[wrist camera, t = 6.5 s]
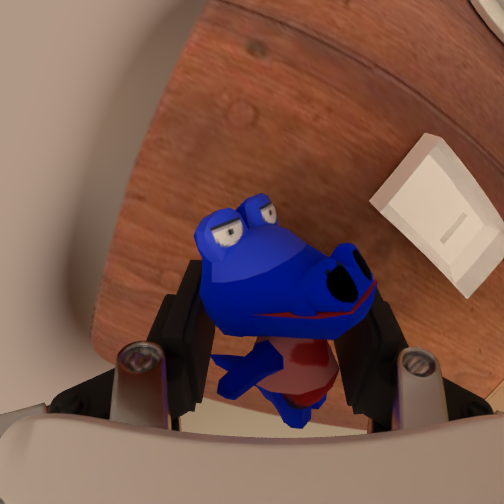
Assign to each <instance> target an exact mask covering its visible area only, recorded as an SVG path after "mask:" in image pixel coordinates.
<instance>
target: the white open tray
mask: <svg viewBox="0 0 504 504" xmlns="http://www.w3.org/2000/svg"><path fill="white" fill-rule="evenodd" d="M369 202H370V203H371V204H372V205H373V206H374V207H375V208H376V209H377V210H378V211H379V212H380V213H381V214H382V215H383V216H384V217H385V218H386V219H387V220H389V221H390V222H391V223H392V224H393V225H394V226H395V227H396V228H397V229H398V230H399V231H400V232H401V233H403V234H404V235H405V236H406V237H407V238H408V239H409V240H410V241H411V242H412V243H413V244H414V245H415V246H416V247H417V248H418V249H419V250H420V251H421V252H422V253H423V254H424V255H425V256H426V257H427V258H428V259H429V260H430V261H431V262H432V263H433V264H434V265H435V266H436V267H437V268H438V269H439V270H440V271H441V272H442V273H443V274H444V275H445V276H446V277H447V278H448V279H449V280H450V281H451V283H452V284H453V285H454V286H455V287H456V288H457V289H458V290H459V291H460V292H461V293H462V294H463V295H464V297H465V298H466V299H468V298H469V297H470V296H471V295H472V294H473V293H474V292H475V291H476V289H477V288H478V287H479V286H480V285H481V284H482V283H483V282H484V280H485V279H486V278H487V277H488V276H489V275H490V274H491V272H492V271H493V270H494V269H495V268H496V267H497V265H498V264H499V263H500V262H501V260H502V259H503V258H504V221H503V220H502V218H501V217H500V215H499V214H498V212H497V210H496V209H495V207H494V206H493V204H492V203H491V201H490V200H489V198H488V197H487V196H486V194H485V193H484V191H483V190H482V188H481V187H480V186H479V184H478V183H477V181H476V180H475V179H474V177H473V176H472V175H471V173H470V172H469V171H468V169H467V168H466V167H465V166H464V164H463V163H462V162H461V160H460V159H459V158H458V157H457V155H456V154H455V153H454V152H453V150H452V149H451V148H450V147H449V146H448V144H447V143H446V142H445V141H444V140H443V139H442V137H439V136H435V135H432V134H428V133H424V134H423V135H422V137H421V138H420V139H419V141H418V142H417V143H416V144H415V146H414V147H413V148H412V149H411V151H410V152H409V153H408V154H407V156H406V157H405V158H404V159H403V160H402V162H401V163H400V164H399V165H398V167H397V168H396V169H395V170H394V171H393V173H392V174H391V175H390V176H389V178H388V179H387V180H386V181H385V182H384V184H383V185H382V186H381V187H380V188H379V190H378V191H377V192H376V193H375V194H374V195H373V197H372V198H371V199H370V200H369Z"/></svg>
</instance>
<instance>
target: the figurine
mask: <svg viewBox="0 0 504 504" xmlns="http://www.w3.org/2000/svg"><path fill="white" fill-rule="evenodd" d="M194 239H195V242H196V245H197V248H198V251H199V253H200V254H201V256H202V277H201V284H200V291H199V295H200V298H201V300H202V303H203V305H204V308H205V311H206V313H207V315H208V316H209V318H210V319H211V320H212V321H213V322H214V323H215V324H216V326H217V327H218V328H219V329H220V330H221V331H222V332H223V334H224V335H230V336H237V337H244V336H258V337H257V340H256V343H255V345H254V348H253V350H252V351H251V352H250V353H248V354H247V355H246V356H245V357H243V356H234V355H216V354H211V355H210V356H211V358H212V359H213V361H214V362H215V364H216V365H218V366H219V367H221V368H223V369H225V370H226V371H228V372H227V373H226V374H225V375H224V376H223V377H222V378H221V379H220V380H219V383H218V389H217V393H218V394H219V395H221V396H223V397H224V398H226V399H231V400H235V399H237V398H238V397H240V396H241V395H242V394H244V393H245V392H246V391H247V390H249V389H250V388H251V387H253V386H256V387H257V388H258V389H259V390H260V391H261V393H262V394H263V395H264V397H265V398H266V399H268V400H269V401H271V402H272V403H273V404H274V406H275V407H276V409H277V410H278V412H279V414H280V416H281V418H282V420H283V422H284V423H286V424H287V425H288V426H290V427H291V428H299V429H302V428H303V427H304V426H305V425H306V424H307V423H308V421H309V420H310V419H311V408H312V409H319V408H320V407H321V405H322V404H323V403H324V402H325V400H326V396H327V392H328V391H329V390H330V389H331V388H332V386H333V384H334V382H335V380H336V377H337V375H338V371H339V366H338V364H337V362H336V360H335V357H334V355H333V353H332V350H331V348H330V346H329V344H328V341H327V340H335V339H336V338H338V337H339V336H340V335H342V334H343V333H345V332H346V331H347V330H349V329H350V328H352V327H353V326H354V325H356V324H357V323H358V322H360V321H361V320H362V319H364V318H365V317H366V315H367V313H368V311H369V309H370V307H371V305H372V303H373V300H374V296H375V291H376V286H377V281H375V280H373V275H372V273H371V271H370V269H369V267H368V265H367V263H366V262H365V260H364V258H363V256H362V255H361V253H360V252H359V250H358V249H357V247H356V246H355V244H350V243H343V244H339V245H338V246H337V247H336V248H335V249H334V251H333V252H332V254H331V256H330V257H328V256H326V255H325V254H323V253H321V252H320V251H318V250H316V249H315V248H313V247H311V246H310V245H308V244H307V243H305V242H304V241H303V240H301V239H300V238H299V237H297V236H296V235H295V234H293V233H292V232H291V231H289V230H288V229H287V228H283V227H280V226H279V223H278V219H277V214H276V209H275V207H274V206H273V204H272V202H271V201H270V199H269V197H268V196H267V195H265V194H262V193H260V194H257V195H254V196H252V197H249V198H247V199H246V200H245V201H244V202H243V203H242V204H241V205H240V206H239V207H238V208H237V209H236V210H233V209H231V208H227V209H221V210H218V211H215V212H213V213H212V214H210V215H208V216H206V217H205V218H203V219H202V221H201V222H200V224H199V226H198V227H197V229H196V231H195V234H194Z"/></svg>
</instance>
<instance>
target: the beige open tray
mask: <svg viewBox="0 0 504 504" xmlns="http://www.w3.org/2000/svg"><path fill="white" fill-rule="evenodd" d="M485 400H486V401H487V402H488V403H489V404H490V406H491V407H492V410H493V412H494V413H495V412H496V410H499V411H501V412H504V380H503V381H502V382H501V383H500V384H499V385H498V386H497V388H496V389H495V390H494V391H493V392H492V393H491V394H490V395H489V396H488V397H487V398H486V399H485Z"/></svg>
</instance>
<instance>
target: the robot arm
mask: <svg viewBox="0 0 504 504" xmlns="http://www.w3.org/2000/svg"><path fill="white" fill-rule="evenodd" d="M470 1H471V3H472V4H473V6H474V8H475V9H476V11H477V12H478V14H479V15H480V16H481V17H482V19H483V20H484V21H485V23H486V24H487V25H488V27H489V28H490V29H491V30H492V31H493V32H494V33H495V34H496V36H497V37H498V38H499V39H500V40H501V41H502V42H503V43H504V0H470ZM201 277H202V260H190V262H189V265H188V267H187V270H186V272H185V275H184V277H183V280H182V282H181V285H180V287H179V290H178V292H177V295H174V294H167V295H166V296H165V298H164V300H163V302H162V304H161V307H160V309H159V311H158V314H157V316H156V318H155V321H154V323H153V325H152V328H151V330H150V333H149V335H148V337H147V340H146V341H137V342H133V343H130V344H128V345H126V346H125V347H124V348H122V349H121V351H120V352H119V353H118V356H117V359H116V366H115V368H114V369H111V370H109V371H107V372H105V373H103V374H101V375H98V376H96V377H94V378H92V379H90V380H87V381H85V382H83V383H81V384H78V385H76V386H74V387H72V388H69V389H67V390H65V391H63V392H61V393H60V394H58V395H57V396H56V397H55V398H54V399H53V401H52V403H51V404H50V405H48V406H46V404H45V403H41V404H38V405H34V406H31V407H27V408H23V409H20V410H16V411H12V412H8V413H4V414H0V504H504V412H501V411H499V410H496V412H495V413H494V412H493V410H492V407H491V406H490V404H489V403H488V402H487V401H486V400H484V399H483V398H481V397H479V396H477V395H475V394H473V393H472V392H470V391H468V390H466V389H464V388H462V387H460V386H459V385H457V384H455V383H453V382H451V381H449V380H447V379H446V378H444V377H442V374H441V369H440V364H439V362H438V360H437V358H436V357H435V356H434V355H433V354H432V353H431V352H429V351H427V350H425V349H423V348H418V347H409V346H408V344H407V342H406V340H405V337H404V335H403V333H402V331H401V329H400V326H399V324H398V322H397V320H396V318H395V316H394V314H393V312H392V310H391V308H390V305H389V304H388V302H386V301H383V299H382V297H381V295H380V293H379V291H378V289H377V287H376V291H375V296H374V300H373V303H372V305H371V307H370V309H369V311H368V313H367V315H366V317H365V318H364V319H362V320H361V321H360V322H358V323H357V324H356V325H354V326H353V327H352V328H350V329H349V330H347V331H346V332H345V333H343V334H342V335H340V336H339V337H338V338H336V339H335V340H334V344H335V348H336V353H337V358H338V362H339V367H340V372H341V376H342V381H343V386H344V391H345V396H346V401H347V405H348V406H352V408H353V413H354V414H364V415H366V416H367V417H369V419H368V428H367V434H361V435H349V436H335V437H314V438H255V437H235V436H219V435H208V434H198V433H188V432H182V430H181V419H180V416H182V415H183V414H185V413H187V412H188V411H193V412H194V411H195V406H196V403H201V402H202V399H203V393H204V388H205V382H206V377H207V371H208V366H209V360H210V355H211V350H212V345H213V339H214V334H215V323H214V322H213V321H212V320H211V319H210V318H209V316H208V315H207V313H206V311H205V308H204V305H203V303H202V300H201V298H200V295H199V291H200V284H201Z"/></svg>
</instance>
